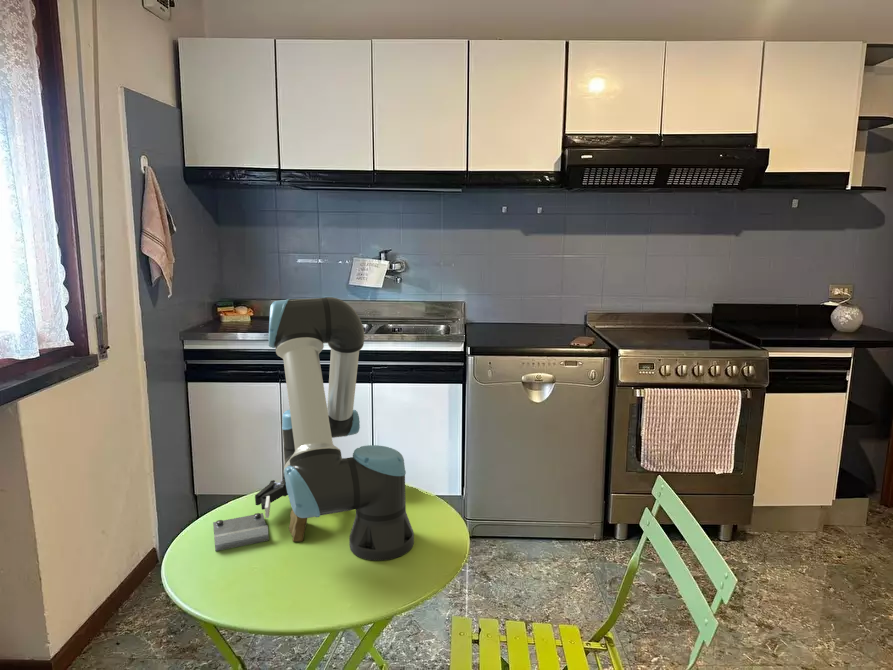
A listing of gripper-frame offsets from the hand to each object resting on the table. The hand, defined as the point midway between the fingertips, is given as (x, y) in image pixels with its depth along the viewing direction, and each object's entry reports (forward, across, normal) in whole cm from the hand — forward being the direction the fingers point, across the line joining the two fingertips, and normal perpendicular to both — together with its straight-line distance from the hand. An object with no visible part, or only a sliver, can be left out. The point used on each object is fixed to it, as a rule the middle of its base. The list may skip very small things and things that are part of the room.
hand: (295, 509), depth 147 cm
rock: (0, 0, -6) cm, 6 cm away
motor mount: (-2, +14, -6) cm, 15 cm away
